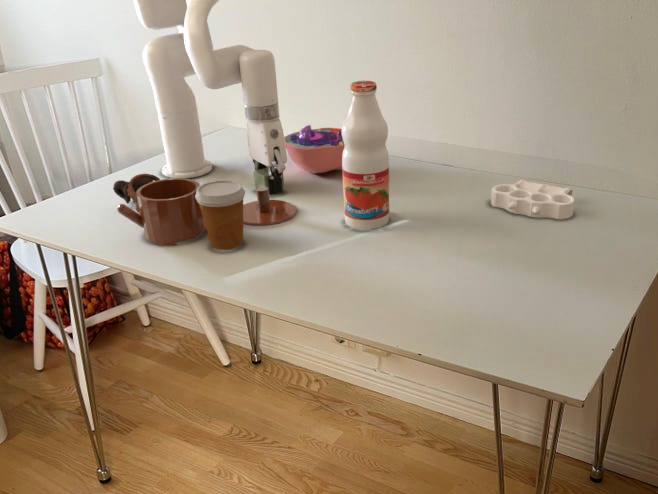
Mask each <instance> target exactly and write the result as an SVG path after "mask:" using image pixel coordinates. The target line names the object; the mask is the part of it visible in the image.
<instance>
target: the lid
mask: <svg viewBox="0 0 658 494" xmlns="http://www.w3.org/2000/svg"><path fill="white" fill-rule="evenodd" d="M255 191H256V199H257V200H254V201H250V202H247V203H243V225H247V226H261V227H263V226H270V225H271V226H272V225H276V224H280V223H284V222H286V221H288V220H290V219H293V217H295V215H296V213H297V209H296V206H295V205H294V204H293V203H290V202H288V201H285V200H281V199H270V194H269V188H268V187H259V188H257V189H256V188H255Z"/></svg>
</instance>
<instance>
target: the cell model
mask: <svg viewBox="0 0 658 494" xmlns="http://www.w3.org/2000/svg"><path fill="white" fill-rule="evenodd" d="M284 140H285V147H286V153H287V154H288V156H289V158H290V159H291V160H292V161H293V163H294V164H295V165H296V167H298V168H300V169H301V170H304V171H306V172H307V173H311V174H314V175H316V174H323V173H328V172H332V171H341V170H342V154H343V150H344V142H343V138H342V128H340V127H339V128H338V127H320V128H313V129H312V125H311V124H308V125H306V126H304V127H303V128H301V129H300V130H299V131H296V132H293V133H290V134H287V135H284Z"/></svg>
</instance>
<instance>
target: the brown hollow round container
mask: <svg viewBox="0 0 658 494" xmlns="http://www.w3.org/2000/svg"><path fill="white" fill-rule="evenodd" d="M200 185H201V184H200V183H199V182H198V181H196V180H194V179H191V178H170V177H169V178H163V179H160V180H158V181H153V182H150V183H148V184H145V185H143V186H142V187H140V188H139V189H138V190H137V191H136V194H137V199H138V204H139V208H140V212H139V214H140V215H141V218H142V222H143V227H144V228H143V231H144V236H145V239H146V240H147V242H149V243H151V244H154V245H158V246H177V245H178V243H182V242H186V241H190V240H193V239H197V238H199V237H200V236H202V235H203V234H204V233H205V232H207V229H206V226H205V222H204V219H203V216H202V212H201V209H200V205H199V203H198V201H197V200H196V198H195V195H196V192H197V188H198V187H199V186H200Z"/></svg>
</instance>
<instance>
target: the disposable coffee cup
mask: <svg viewBox="0 0 658 494" xmlns="http://www.w3.org/2000/svg"><path fill="white" fill-rule="evenodd" d="M245 195H246V190H245V189H244V187H243V186H242V183H240V182H239V181H236V180H230V179H218V180H212V181H207V182H205V183H202V184H200V186H199V187H198V188H197V192H196V195H195V198H196V200H197V201H198V203H199V205H200V209H201V212H202V216H203V219H204V222H205V226H206V232H207V236H208V239H209V242H210V245H211V247H212V248H213V249H216V250H220V251H228V250H233V249H236V248H239V247H241V246H242V245H243V244H244V224H243V205H244V198H245Z"/></svg>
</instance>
